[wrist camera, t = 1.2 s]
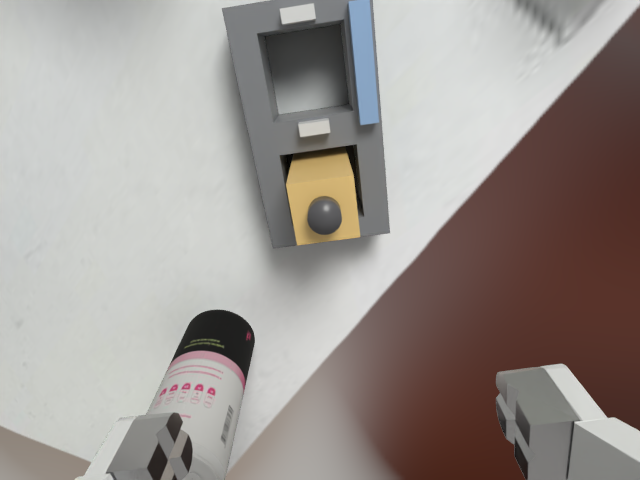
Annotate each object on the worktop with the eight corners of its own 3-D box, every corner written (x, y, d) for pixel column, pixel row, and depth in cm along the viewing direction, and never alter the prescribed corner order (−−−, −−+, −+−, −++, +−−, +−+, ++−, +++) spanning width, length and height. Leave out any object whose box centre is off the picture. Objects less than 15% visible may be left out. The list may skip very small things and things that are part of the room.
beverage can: (253, 363, 41) (221, 519, 27) (188, 357, 40) (122, 511, 27) (257, 310, 38) (224, 453, 24) (187, 303, 38) (114, 444, 24)
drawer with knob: (302, 198, 33) (296, 254, 24) (294, 151, 32) (284, 190, 22) (349, 192, 33) (362, 245, 24) (344, 143, 31) (355, 181, 22)
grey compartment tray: (277, 227, 34) (271, 254, 30) (234, 14, 28) (218, 6, 23) (382, 213, 34) (392, 238, 29) (364, -7, 27) (373, -19, 23)
